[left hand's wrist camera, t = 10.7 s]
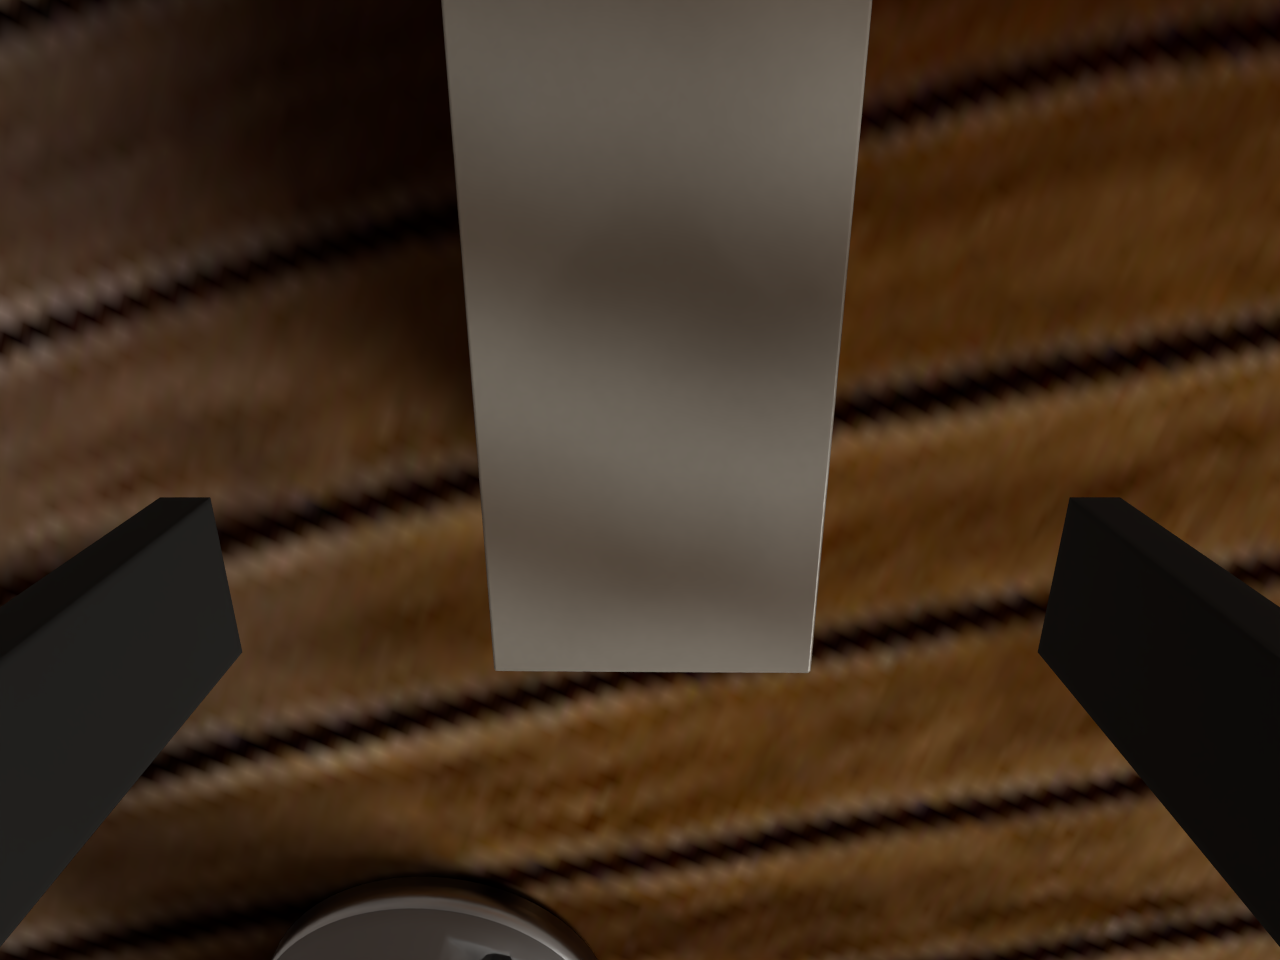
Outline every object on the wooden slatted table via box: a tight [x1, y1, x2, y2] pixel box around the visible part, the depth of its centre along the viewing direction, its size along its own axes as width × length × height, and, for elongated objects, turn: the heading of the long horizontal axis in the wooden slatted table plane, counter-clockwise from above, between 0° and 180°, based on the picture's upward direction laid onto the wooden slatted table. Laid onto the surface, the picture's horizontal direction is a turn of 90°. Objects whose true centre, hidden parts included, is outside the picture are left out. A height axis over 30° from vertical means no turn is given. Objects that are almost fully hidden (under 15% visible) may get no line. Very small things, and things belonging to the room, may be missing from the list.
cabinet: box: [441, 0, 872, 673], centre depth 19 cm, size 17×7×10 cm, turn 0°
